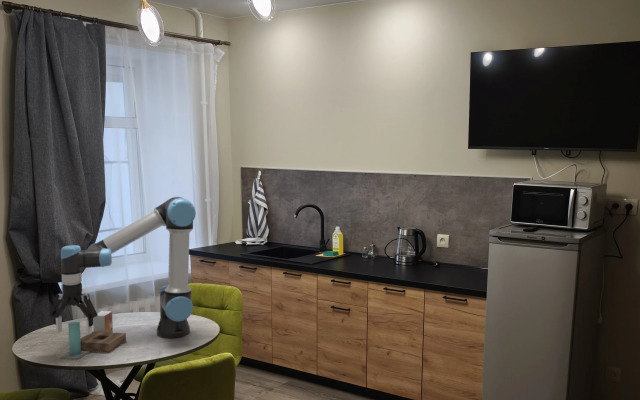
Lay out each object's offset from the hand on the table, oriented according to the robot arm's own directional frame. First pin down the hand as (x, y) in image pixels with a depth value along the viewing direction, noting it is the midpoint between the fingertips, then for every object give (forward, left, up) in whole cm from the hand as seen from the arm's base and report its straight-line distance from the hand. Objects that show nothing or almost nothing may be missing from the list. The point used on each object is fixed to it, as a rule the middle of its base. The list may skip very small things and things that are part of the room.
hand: (74, 333), depth 234 cm
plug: (0, 0, -9) cm, 9 cm away
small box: (+2, -26, -10) cm, 28 cm away
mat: (0, 0, -10) cm, 10 cm away
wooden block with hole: (-5, -12, -9) cm, 16 cm away
